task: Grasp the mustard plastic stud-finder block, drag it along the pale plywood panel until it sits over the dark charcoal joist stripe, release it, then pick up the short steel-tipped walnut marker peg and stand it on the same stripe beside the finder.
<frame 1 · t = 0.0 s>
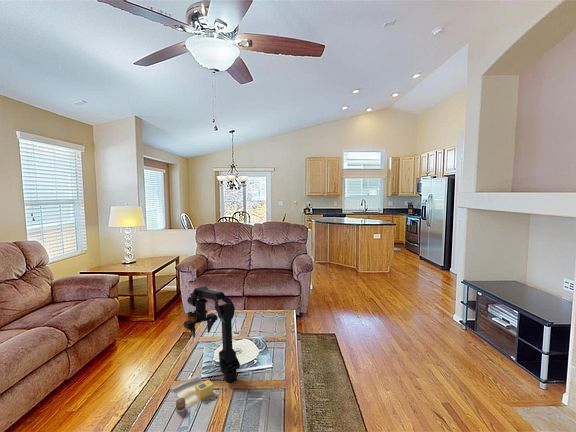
hand: (201, 335, 179), 14 cm above the table, fingers open, 9 cm apart
marker peg: (180, 411, 138), on the table
plywood panel: (193, 391, 152), on the table
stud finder: (204, 394, 149), point 1 cm above the table, touching plywood panel
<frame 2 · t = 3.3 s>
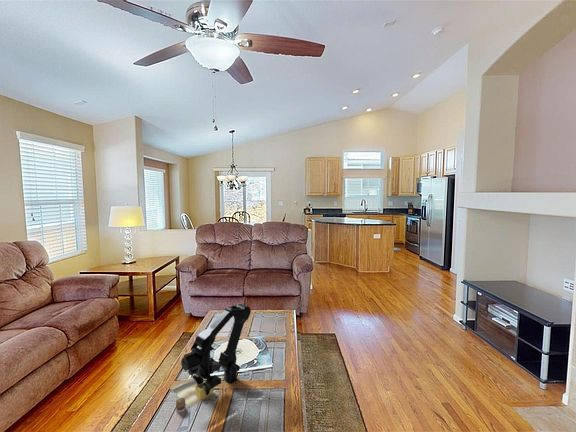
hand: (204, 392, 149), 2 cm above the table, fingers closed on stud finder, 5 cm apart
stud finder: (204, 394, 149), point 1 cm above the table, touching gripper, plywood panel
everything else where it was.
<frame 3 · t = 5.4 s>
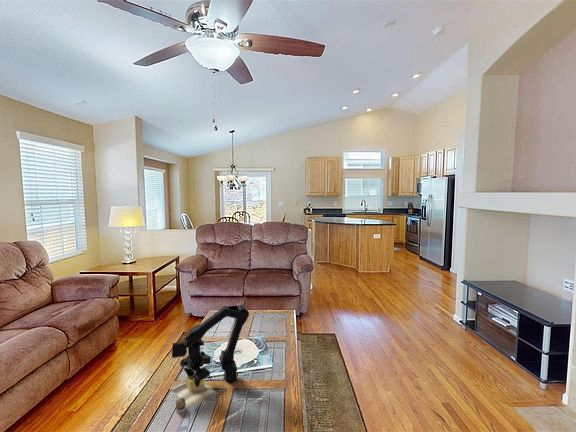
hand: (194, 384, 155), 2 cm above the table, fingers closed on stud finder, 5 cm apart
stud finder: (194, 385, 155), point 1 cm above the table, touching gripper
everything else where it was.
when the fingers open (1 cm above the table, at t = 6.4 s): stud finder stays where it is, resting on plywood panel.
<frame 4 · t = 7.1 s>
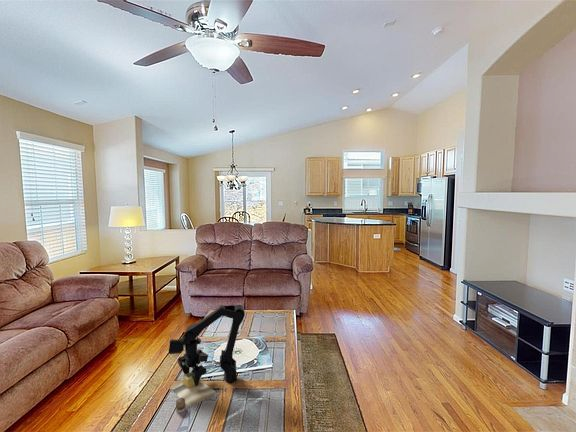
hand: (192, 381, 157), 1 cm above the table, fingers open, 9 cm apart
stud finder: (192, 383, 157), point 1 cm above the table, touching plywood panel
everything else where it was.
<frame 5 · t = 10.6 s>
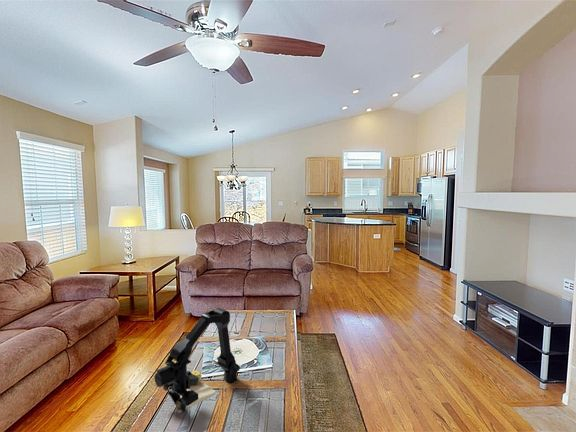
hand: (180, 409, 138), 1 cm above the table, fingers closed on marker peg, 4 cm apart
marker peg: (180, 411, 138), on the table, touching gripper
everything else where it was.
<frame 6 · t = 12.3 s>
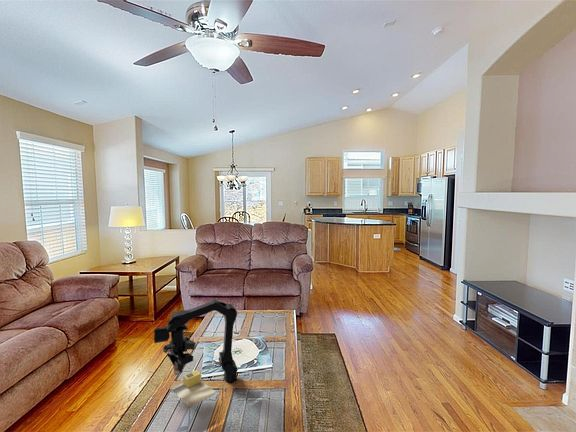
hand: (178, 370, 151), 11 cm above the table, fingers closed on marker peg, 4 cm apart
marker peg: (178, 372, 151), point 10 cm above the table, touching gripper
everything else where it was.
when the fingers open (3 cm above the table, at t = 14.1 s): marker peg drops 1 cm, resting on plywood panel.
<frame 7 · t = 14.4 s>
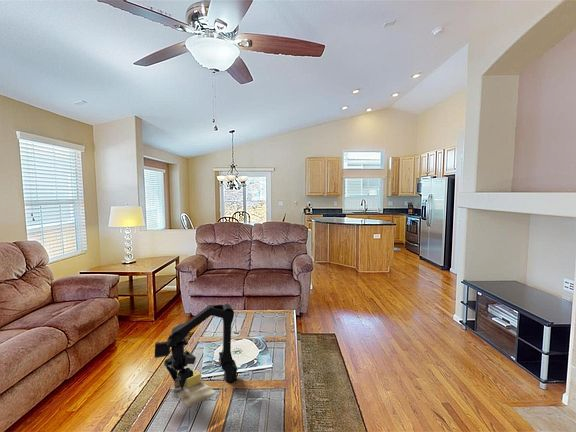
hand: (178, 384, 152), 3 cm above the table, fingers open, 7 cm apart
marker peg: (178, 389, 152), point 1 cm above the table, touching plywood panel
everything else where it was.
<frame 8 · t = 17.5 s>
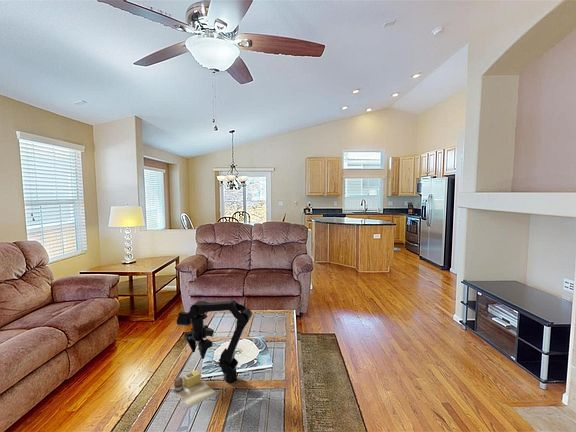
hand: (198, 355, 162), 12 cm above the table, fingers open, 9 cm apart
nothing on the table moved.
at the end: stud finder 0.5 cm from the target spot, point 0.8 cm above the table; marker peg 0.1 cm from the target spot, point 0.8 cm above the table; marker peg tilted 0° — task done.
